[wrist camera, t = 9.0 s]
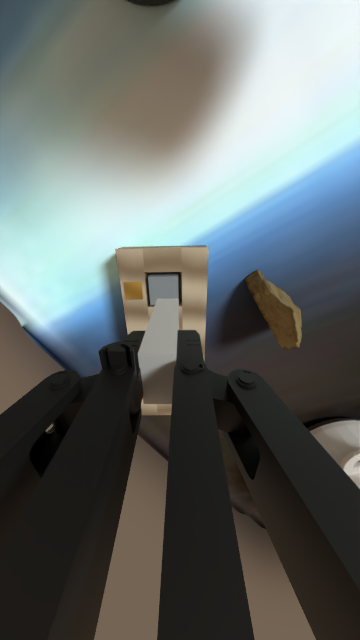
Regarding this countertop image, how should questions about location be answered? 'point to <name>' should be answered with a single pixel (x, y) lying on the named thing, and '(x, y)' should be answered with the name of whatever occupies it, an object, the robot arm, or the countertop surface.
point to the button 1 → (163, 286)
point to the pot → (341, 443)
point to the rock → (277, 310)
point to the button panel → (136, 295)
